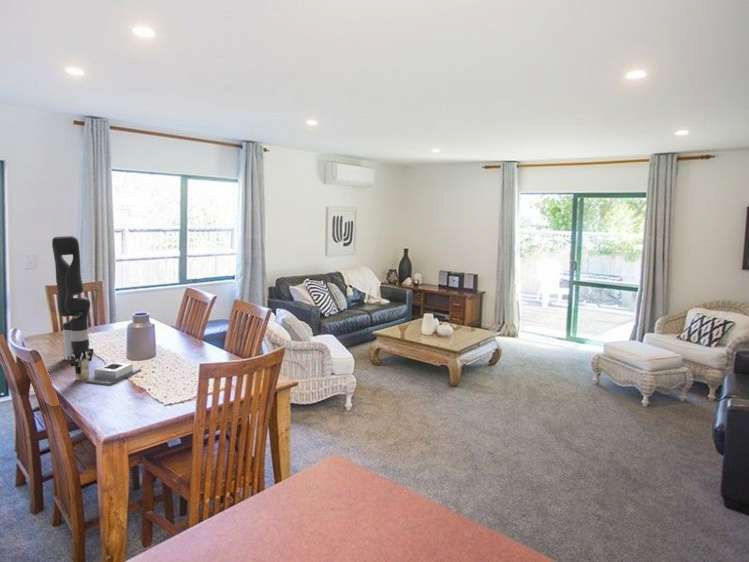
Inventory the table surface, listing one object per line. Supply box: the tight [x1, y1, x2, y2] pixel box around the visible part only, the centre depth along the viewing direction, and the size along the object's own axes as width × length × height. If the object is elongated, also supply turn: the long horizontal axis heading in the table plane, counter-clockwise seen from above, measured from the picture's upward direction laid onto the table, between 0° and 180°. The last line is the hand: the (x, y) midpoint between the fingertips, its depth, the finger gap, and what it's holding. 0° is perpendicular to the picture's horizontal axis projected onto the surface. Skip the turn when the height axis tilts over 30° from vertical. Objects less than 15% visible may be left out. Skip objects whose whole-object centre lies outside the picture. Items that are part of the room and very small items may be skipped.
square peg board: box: [84, 361, 142, 386], centre depth 248 cm, size 14×22×5 cm, turn 168°
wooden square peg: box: [75, 358, 90, 381], centre depth 243 cm, size 4×4×10 cm
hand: (82, 372), depth 243 cm, fingers closed on wooden square peg, 4 cm apart
